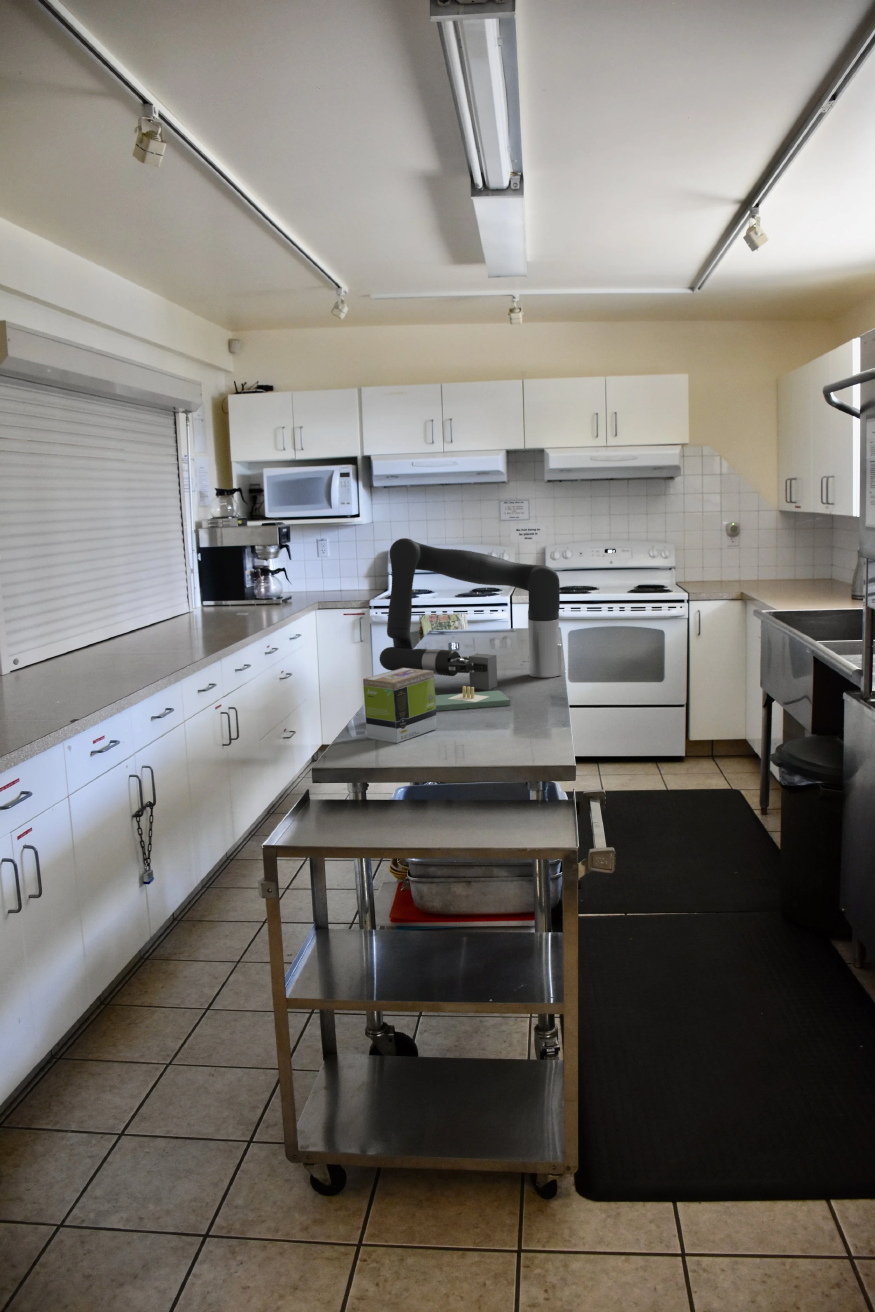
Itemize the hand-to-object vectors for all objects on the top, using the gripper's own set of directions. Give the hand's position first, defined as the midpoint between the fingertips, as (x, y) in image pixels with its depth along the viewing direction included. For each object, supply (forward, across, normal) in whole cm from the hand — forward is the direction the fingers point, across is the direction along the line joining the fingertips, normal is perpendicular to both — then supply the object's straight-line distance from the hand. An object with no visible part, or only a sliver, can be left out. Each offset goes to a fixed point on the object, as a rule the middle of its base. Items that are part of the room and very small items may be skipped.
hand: (491, 666), depth 265 cm
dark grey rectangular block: (-3, 0, +6) cm, 7 cm away
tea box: (+4, -48, +7) cm, 49 cm away
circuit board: (+1, -14, +7) cm, 16 cm away
